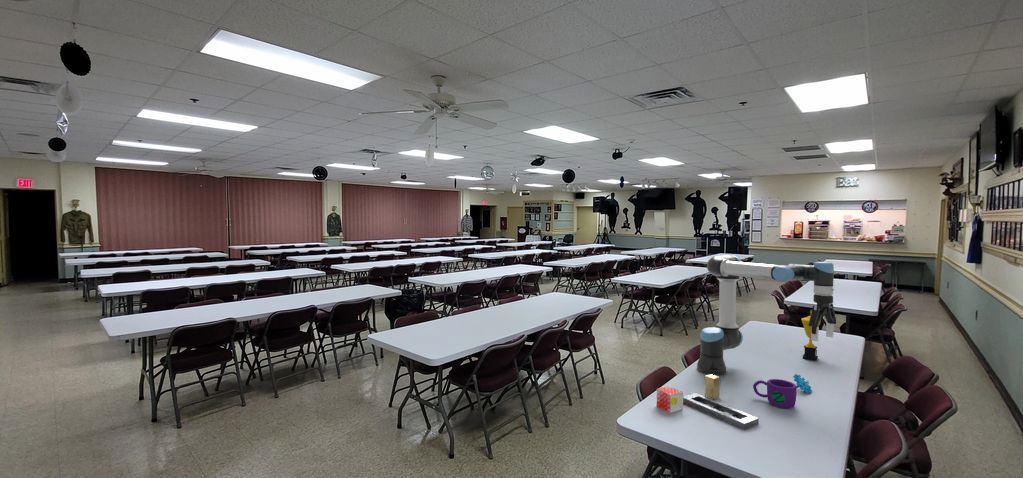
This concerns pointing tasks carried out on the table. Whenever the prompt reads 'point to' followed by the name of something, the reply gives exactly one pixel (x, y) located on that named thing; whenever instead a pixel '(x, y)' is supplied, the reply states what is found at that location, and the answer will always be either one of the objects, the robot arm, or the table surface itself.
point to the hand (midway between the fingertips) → (822, 338)
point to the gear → (802, 383)
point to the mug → (779, 392)
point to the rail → (728, 415)
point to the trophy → (809, 347)
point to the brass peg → (712, 386)
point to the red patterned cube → (670, 399)
